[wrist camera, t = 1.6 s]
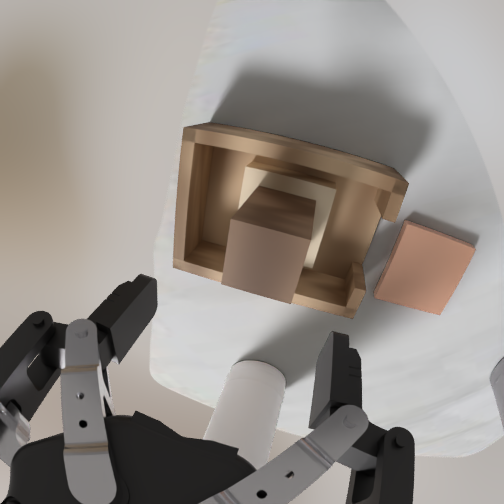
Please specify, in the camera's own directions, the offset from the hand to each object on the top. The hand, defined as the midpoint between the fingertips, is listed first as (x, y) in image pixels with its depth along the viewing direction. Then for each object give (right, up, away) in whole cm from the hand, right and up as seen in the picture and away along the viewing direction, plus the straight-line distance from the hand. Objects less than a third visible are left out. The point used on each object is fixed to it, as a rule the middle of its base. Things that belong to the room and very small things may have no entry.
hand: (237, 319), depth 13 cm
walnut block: (+3, +6, +10) cm, 12 cm away
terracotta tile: (+17, +1, +12) cm, 21 cm away
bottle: (+1, -14, +25) cm, 29 cm away
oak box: (+4, +7, +13) cm, 15 cm away
